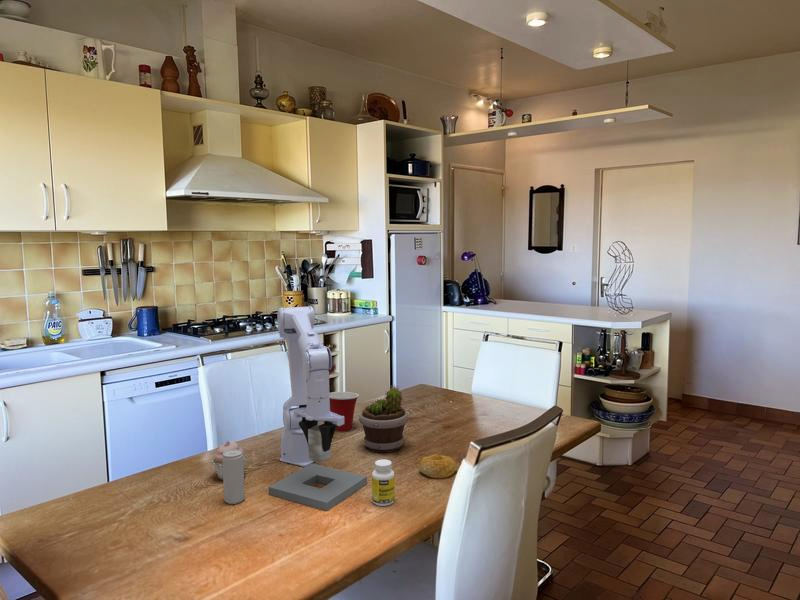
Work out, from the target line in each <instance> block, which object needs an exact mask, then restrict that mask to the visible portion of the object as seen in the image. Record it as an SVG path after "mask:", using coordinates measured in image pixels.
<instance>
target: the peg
mask: <svg viewBox="0 0 800 600" xmlns="http://www.w3.org/2000/svg"><path fill="white" fill-rule="evenodd" d="M308 446H309V460H311V461H315V462H316V463H320V464H323V463H324V462H326V461H328V460H329V459H331V458H332V446H331V447H330V450H328V451H326V452H324V451H323V448H322V437H321V432H320V429H319V425H316V426H314V427H312V428H310V429H308Z"/></svg>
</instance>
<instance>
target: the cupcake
mask: <svg viewBox="0 0 800 600" xmlns="http://www.w3.org/2000/svg"><path fill="white" fill-rule="evenodd" d="M234 449H237V450H241V451H242V453H243V464H244V467H245V466H246V462H247V459H248V458H249V456H247V455H246V453H245V452H244V449H243V448H242V447H241V446H239V443H237V442H235V441H233V440H227V441H225V444H221V445H220V446H219V447H218V449H217V450H216V451H215V453H214V455H213V459H212V460H211V463H212V464H213V466H214V467H215V470H216V474H217V477H218V479H220V480H222V481H223V462H222V456H223V453H224V452H225V451H228V450H234Z"/></svg>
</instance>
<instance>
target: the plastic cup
mask: <svg viewBox="0 0 800 600" xmlns="http://www.w3.org/2000/svg"><path fill="white" fill-rule="evenodd" d="M359 395H360V394H359V393H356V392H350V391H333V392H329V397H330V412H333V413H335V414H338V415H340V416H344V424H343V425H341V426H338V427H337V429H336V431H337V432H340V433H341V432H342V433H343V432H348V431H349V432H350V431H351V430H352V428H353V420H354V415H355V407H356V404H357V400H358V398H359ZM336 431H335V432H336Z"/></svg>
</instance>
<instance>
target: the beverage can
mask: <svg viewBox="0 0 800 600" xmlns="http://www.w3.org/2000/svg"><path fill="white" fill-rule="evenodd" d="M222 462H223V480H222V481H223V500H224V501H225V503H226V504H229V505H237V504H240V503H241V502H243V501H244V500H245V498H246V494H245V493H246V492H245V489H246V488H245V466H244V464H243V453H242V451H241V450H237V449H234V450H228V451H225V452H224V453H223V456H222Z"/></svg>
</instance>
